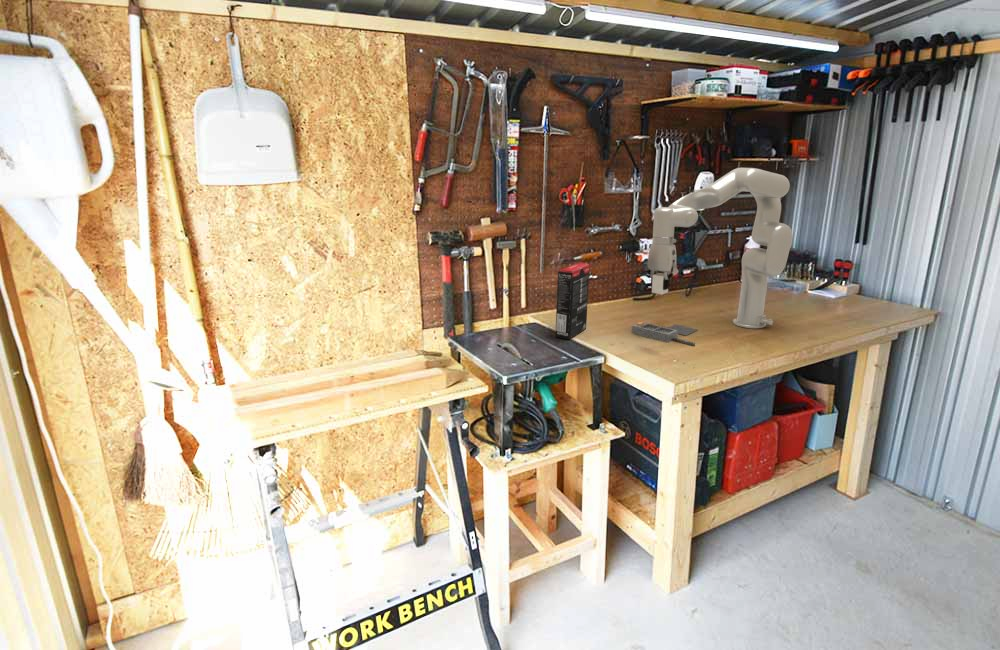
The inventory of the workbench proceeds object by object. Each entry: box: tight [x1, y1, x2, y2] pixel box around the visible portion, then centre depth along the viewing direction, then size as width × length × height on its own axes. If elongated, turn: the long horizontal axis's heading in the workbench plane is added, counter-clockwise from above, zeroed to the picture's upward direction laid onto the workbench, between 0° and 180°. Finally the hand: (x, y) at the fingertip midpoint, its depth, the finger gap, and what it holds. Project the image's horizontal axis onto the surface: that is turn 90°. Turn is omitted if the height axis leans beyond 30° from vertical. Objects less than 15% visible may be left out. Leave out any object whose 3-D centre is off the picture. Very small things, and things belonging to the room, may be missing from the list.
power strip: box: [631, 321, 696, 347], centre depth 210 cm, size 25×7×4 cm, turn 43°
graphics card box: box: [555, 262, 590, 340], centre depth 214 cm, size 17×7×27 cm, turn 149°
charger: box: [651, 272, 669, 295], centre depth 210 cm, size 4×4×7 cm
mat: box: [667, 324, 699, 337], centre depth 219 cm, size 10×10×1 cm
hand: (659, 287), depth 210 cm, fingers closed on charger, 4 cm apart
